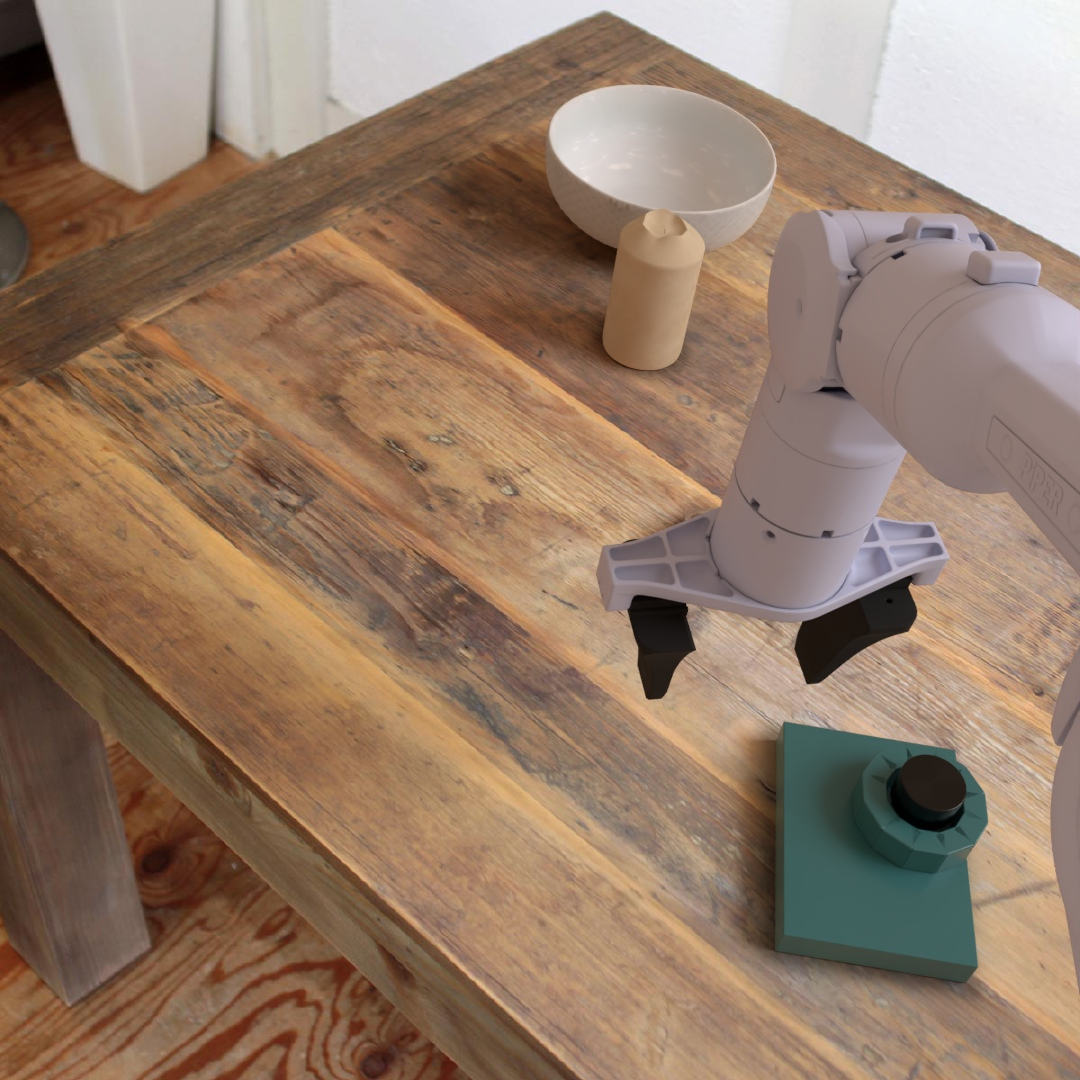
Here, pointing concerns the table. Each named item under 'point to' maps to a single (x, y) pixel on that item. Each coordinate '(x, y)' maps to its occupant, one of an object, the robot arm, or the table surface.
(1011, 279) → the robot arm
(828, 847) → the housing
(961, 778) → the button
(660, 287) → the candle
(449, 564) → the table surface
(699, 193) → the cereal bowl
